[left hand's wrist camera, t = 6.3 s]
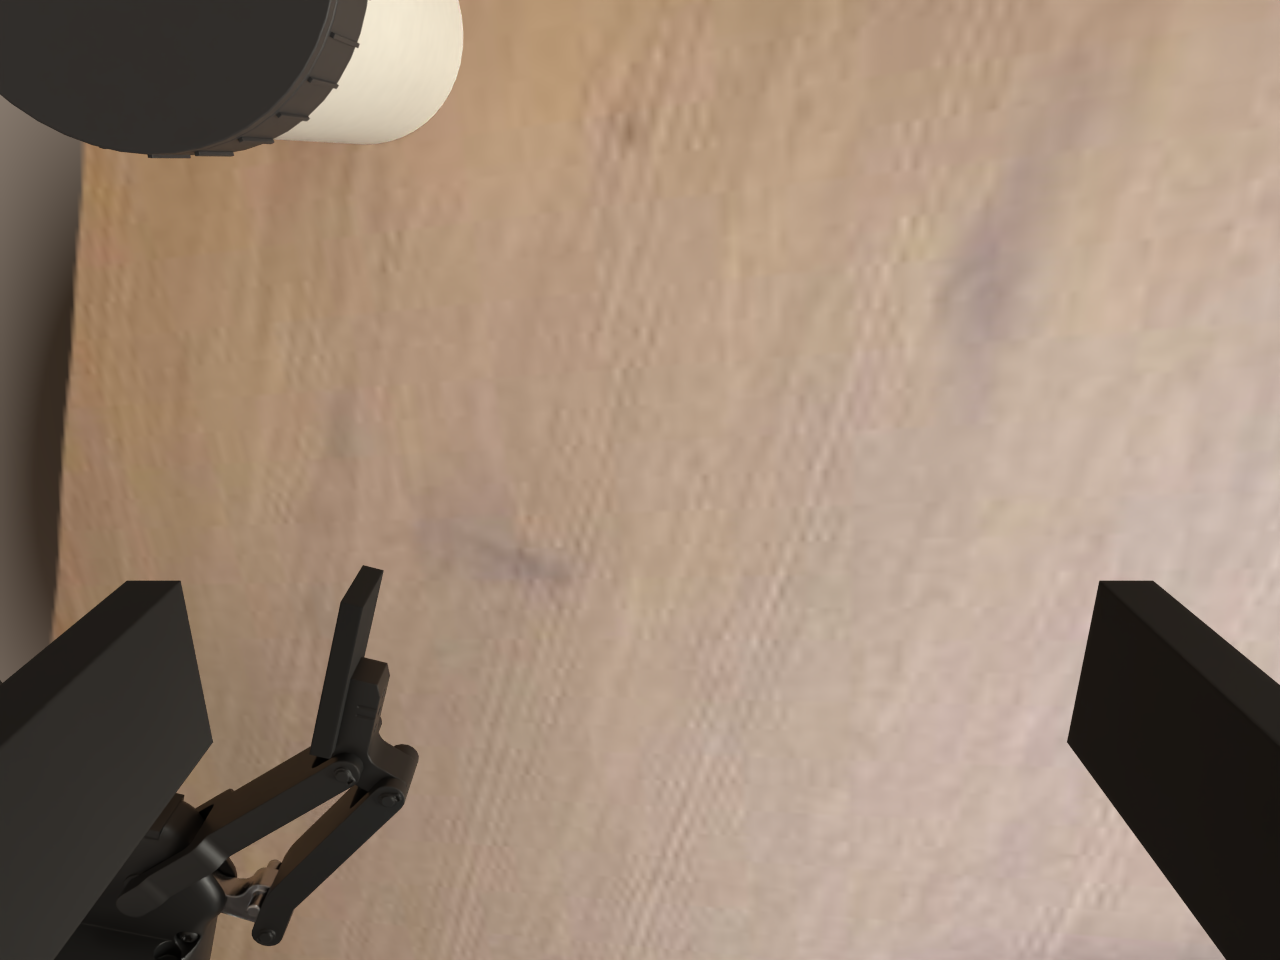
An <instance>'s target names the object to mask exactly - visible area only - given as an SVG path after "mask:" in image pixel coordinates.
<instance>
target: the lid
mask: <svg viewBox="0 0 1280 960" xmlns="http://www.w3.org/2000/svg"><path fill="white" fill-rule="evenodd" d="M367 2H368V0H0V95H2V96H3V97H4V98H5V99H7V100H8V101H9V102H10V103H11V104H13V105H14V106H16V107H17V108H19V109H20V110H22V111H24V112H25V113H26V114H28V115H30V116H31V117H33V118H34V119H36V120H37V121H39V122H41V123H43V124H45V125H47V126H49V127H51V128H53V129H54V130H56V131H58V132H60V133H62V134H64V135H67V136H69V137H72V138H75V139H77V140H80V141H83V142H86V143H88V144H91V145H94V146H98V147H100V148H103V149H111V150H115V151H120V152H129V153H139V154H148V158H191V157H190V155H195V156H234V154H233V152H236V151H241V150H246V149H249V148H252V147H255V146H258V145H261V144H272V143H274V140H273V139H274V138H276V137H278V136H280V135H282V134H284V133H286V132H288V131H289V130H291V129H292V128H293V127H295V126H296V125H297V124H299V123H300V122H302V121H308V120H309V119H310V118H309V117H308V116H309V115H310V114H311V113H312V112H313V111H314V110H315V109H316V108H317V107H318V106H319V105H320V104H321V103H322V102H323V101H324V100H325V99H326V97H327V96H328V95H329V93H330V92H331V91H332V89H333V88H334V89H337V88H338V86H339V85H338V84H337V83H338V81H339V80H340V78H341V76H342V74H343V72H344V71H345V69H346V67H347V65H348V63H349V61H350V60H351V57H352V55H353V52H354V50H355V47H356V48H359V45H360V44H359V43H357V42H358V39H359V36H360V34H361V30H362V26H363V21H364V17H365V13H366V9H367Z"/></svg>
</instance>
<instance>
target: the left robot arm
mask: <svg viewBox="0 0 1280 960" xmlns="http://www.w3.org/2000/svg"><path fill="white" fill-rule="evenodd" d="M212 743H213V740H212V735H211V730H210V725H209V720H208V715H207V710H206V705H205V700H204V695H203V690H202V685H201V680H200V675H199V670H198V665H197V660H196V655H195V650H194V645H193V640H192V635H191V630H190V625H189V620H188V615H187V610H186V605H185V600H184V595H183V591H182V586H181V581H126V582H125V583H124V584H122V585H121V586H120V587H119V588H118V589H116V590H115V591H114V592H113V593H111V594H110V595H109V596H108V597H107V598H105V599H104V600H103V601H102V602H101V603H99V604H98V605H97V606H96V607H94V608H93V609H92V610H91V611H90V612H88V613H87V614H86V615H85V616H84V617H82V618H81V619H80V620H79V621H78V622H76V623H75V624H74V625H73V626H71V627H70V628H69V629H68V630H67V631H65V632H64V633H63V634H62V635H61V636H59V637H58V638H57V639H56V640H54V641H53V642H52V643H51V644H50V645H48V646H47V647H46V648H45V649H44V650H42V651H41V652H40V653H39V654H37V655H36V656H35V657H34V658H33V659H31V660H30V661H29V662H28V663H27V664H25V665H24V666H23V667H22V668H20V669H19V670H18V671H17V672H16V673H14V674H13V675H12V676H11V677H10V678H8V679H7V680H6V681H5V682H3V683H2V684H1V685H0V960H54V959H55V957H56V956H57V955H58V953H59V952H60V951H61V949H62V948H63V946H64V945H65V944H66V942H67V941H68V940H69V938H70V937H71V935H72V934H73V933H74V931H75V930H76V929H77V927H78V926H79V925H80V923H81V922H82V920H83V919H84V918H85V916H86V915H87V914H88V912H89V911H90V910H91V908H92V907H93V905H94V904H95V903H96V901H97V900H98V899H99V897H100V896H101V894H102V893H103V892H104V890H105V889H106V888H107V886H108V885H109V884H110V882H111V881H112V879H113V878H114V877H115V875H116V874H117V873H118V871H119V870H120V868H121V867H122V866H123V864H124V863H125V862H126V860H127V859H128V858H129V856H130V855H131V853H132V852H133V851H134V849H135V848H136V847H137V845H138V844H139V843H140V841H141V840H142V838H143V837H144V836H145V834H146V833H147V832H148V830H149V829H150V827H151V826H152V825H153V823H154V822H155V821H156V819H157V818H158V817H159V815H160V814H161V812H162V811H163V810H164V808H165V807H166V806H167V804H168V803H169V801H170V800H171V799H172V797H173V796H174V795H175V793H176V792H177V791H178V789H179V788H180V786H181V785H182V784H183V782H184V781H185V780H186V778H187V777H188V776H189V774H190V773H191V771H192V770H193V769H194V767H195V766H196V765H197V763H198V762H199V760H200V759H201V758H202V756H203V755H204V754H205V752H206V751H207V750H208V748H209V747H210V745H211V744H212ZM1067 743H1068V744H1069V745H1070V747H1071V748H1072V750H1073V751H1074V752H1075V754H1076V755H1077V756H1078V758H1079V759H1080V760H1081V762H1082V763H1083V765H1084V766H1085V767H1086V769H1087V770H1088V771H1089V773H1090V774H1091V776H1092V777H1093V778H1094V780H1095V781H1096V782H1097V784H1098V785H1099V786H1100V788H1101V789H1102V791H1103V792H1104V793H1105V795H1106V796H1107V797H1108V799H1109V800H1110V801H1111V803H1112V804H1113V806H1114V807H1115V808H1116V810H1117V811H1118V812H1119V814H1120V815H1121V817H1122V818H1123V819H1124V821H1125V822H1126V823H1127V825H1128V826H1129V827H1130V829H1131V830H1132V832H1133V833H1134V834H1135V836H1136V837H1137V838H1138V840H1139V841H1140V843H1141V844H1142V845H1143V847H1144V848H1145V849H1146V851H1147V852H1148V853H1149V855H1150V856H1151V858H1152V859H1153V860H1154V862H1155V863H1156V864H1157V866H1158V867H1159V868H1160V870H1161V871H1162V873H1163V874H1164V875H1165V877H1166V878H1167V879H1168V881H1169V882H1170V884H1171V885H1172V886H1173V888H1174V889H1175V890H1176V892H1177V893H1178V894H1179V896H1180V897H1181V899H1182V900H1183V901H1184V903H1185V904H1186V905H1187V907H1188V908H1189V910H1190V911H1191V912H1192V914H1193V915H1194V916H1195V918H1196V919H1197V920H1198V922H1199V923H1200V925H1201V926H1202V927H1203V929H1204V930H1205V931H1206V933H1207V934H1208V935H1209V937H1210V938H1211V940H1212V941H1213V942H1214V944H1215V945H1216V946H1217V948H1218V949H1219V951H1220V952H1221V953H1222V955H1223V956H1224V957H1225V959H1226V960H1280V685H1279V684H1278V683H1277V682H1275V681H1274V680H1273V679H1272V678H1270V677H1269V676H1268V675H1267V674H1266V673H1264V672H1263V671H1262V670H1261V669H1260V668H1258V667H1257V666H1256V665H1255V664H1253V663H1252V662H1251V661H1250V660H1249V659H1247V658H1246V657H1245V656H1244V655H1243V654H1241V653H1240V652H1239V651H1238V650H1236V649H1235V648H1234V647H1233V646H1232V645H1230V644H1229V643H1228V642H1227V641H1226V640H1224V639H1223V638H1222V637H1221V636H1219V635H1218V634H1217V633H1216V632H1215V631H1213V630H1212V629H1211V628H1210V627H1209V626H1207V625H1206V624H1205V623H1204V622H1202V621H1201V620H1200V619H1199V618H1198V617H1196V616H1195V615H1194V614H1193V613H1192V612H1190V611H1189V610H1188V609H1187V608H1185V607H1184V606H1183V605H1182V604H1181V603H1179V602H1178V601H1177V600H1176V599H1175V598H1173V597H1172V596H1171V595H1170V594H1168V593H1167V592H1166V591H1165V590H1164V589H1162V588H1161V587H1160V586H1159V585H1158V584H1156V583H1155V582H1154V581H1099V585H1098V590H1097V595H1096V600H1095V605H1094V610H1093V615H1092V620H1091V625H1090V630H1089V635H1088V640H1087V645H1086V650H1085V655H1084V660H1083V665H1082V670H1081V675H1080V680H1079V685H1078V690H1077V695H1076V700H1075V705H1074V710H1073V715H1072V720H1071V725H1070V730H1069V735H1068V740H1067Z"/></svg>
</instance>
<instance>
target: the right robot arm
mask: <svg viewBox="0 0 1280 960" xmlns="http://www.w3.org/2000/svg"><path fill="white" fill-rule="evenodd" d="M383 571H384V570H380V569H376V568H372V567H368V566H364V565H363V566H362V568H361V569H360V571H359V573H358V574H357V576H356V578H355V579H354V581H353V583H352V584H351V586H350V588H349V589H348V591H347V593H346V594H345V596H344V598H343V599H342V601H341V603H340V608H339V613H338V618H337V623H336V627H335V632H334V637H333V642H332V647H331V652H330V656H329V661H328V666H327V671H326V676H325V681H324V685H323V690H322V695H321V700H320V705H319V710H318V715H317V719H316V724H315V729H314V734H313V739H312V744H311V747H309V748H307V749H305V750H304V751H302V752H300V753H299V754H297V755H295V756H293V757H292V758H290V759H288V760H287V761H285V762H283V763H282V764H280V765H278V766H276V767H275V768H273V769H271V770H270V771H268V772H266V773H265V774H263V775H261V776H259V777H258V778H256V779H254V780H253V781H251V782H249V783H247V784H246V785H244V786H242V787H241V788H239V789H237V790H236V791H233V790H232V789H228V790H226V791H224V792H223V793H221V794H219V795H218V796H216V797H214V798H212V799H211V800H209V801H207V802H206V803H204V804H202V805H201V806H199V807H197V808H194V807H192V806H191V805H190V804H188V803H186V802H184V801H183V800H184V795H182V794H177V793H175V795H174V796H173V797H172V799H171V800H170V801H169V803H168V804H167V806H166V807H165V808H164V810H163V811H162V812H161V814H160V815H159V817H158V818H157V819H156V821H155V822H154V823H153V825H152V826H151V827H150V829H149V830H148V832H147V833H146V834H145V836H144V837H143V838H142V840H141V841H140V843H139V844H138V845H137V847H136V848H135V849H134V851H133V852H132V853H131V855H130V856H129V858H128V859H127V860H126V862H125V863H124V864H123V866H122V867H121V868H120V870H119V871H118V873H117V874H116V875H115V877H114V878H113V879H112V881H111V882H110V884H109V885H108V886H107V888H106V889H105V890H104V892H103V893H102V894H101V896H100V897H99V899H98V900H97V901H96V903H95V904H94V905H93V907H92V908H91V910H90V911H89V912H88V914H87V915H86V916H85V918H84V919H83V920H82V922H81V923H80V925H79V926H78V927H77V929H76V930H75V931H74V933H73V934H72V935H71V937H70V938H69V940H68V941H67V942H66V944H65V945H64V946H63V948H62V949H61V951H60V952H59V953H58V955H57V956H56V957H55V959H54V960H210V956H211V950H212V945H213V939H214V933H215V928H216V922H217V916H218V915H219V914H220V913H225V914H228V915H232V916H235V917H238V918H242V919H245V920H249V921H252V922H255V924H254V927H253V930H252V937H253V939H254V940H255V941H256V942H257V943H259V944H261V945H265V946H273V945H276V944H278V943H279V942H280V941H281V940H282V938H283V935H284V933H285V931H286V928H287V926H288V923H289V921H290V919H291V916H292V914H293V912H294V909H295V908H296V907H297V906H298V905H299V904H300V903H301V902H302V901H303V900H304V899H305V898H306V897H307V896H309V895H310V894H311V893H312V892H313V891H314V890H315V889H316V888H317V887H318V886H319V885H320V884H321V883H322V882H323V881H324V880H325V879H327V878H328V877H329V876H330V875H331V874H332V873H333V872H334V871H335V870H336V869H337V868H338V867H339V866H340V865H341V864H342V863H344V862H345V861H346V860H347V859H348V858H349V857H350V856H351V855H352V854H353V853H354V852H355V851H356V850H357V849H358V848H359V847H360V846H362V845H363V844H364V843H365V842H366V841H367V840H368V839H369V838H370V837H371V836H372V835H373V834H374V833H375V832H376V831H377V830H378V829H380V828H381V827H382V826H383V825H384V824H385V823H386V822H387V821H388V820H389V819H390V818H391V817H392V816H393V815H394V814H395V813H396V812H398V811H399V810H400V809H401V808H402V806H403V805H404V802H405V799H406V796H407V793H408V790H409V787H410V784H411V781H412V778H413V775H414V772H415V769H416V766H417V763H418V757H419V756H418V753H417V751H416V750H415V749H414V748H413V747H411V746H409V745H404V744H400V745H396V746H394V747H393V746H392V745H390V744H388V743H387V742H385V741H384V740H383V739H382V738H381V737H380V735H379V730H380V727H381V725H382V720H381V717H380V715H381V711H382V706H383V702H384V697H385V694H386V690H387V685H388V681H389V677H390V674H389V669H388V665H387V663H385V662H380V661H376V660H372V659H368V658H364V656H365V651H366V647H367V642H368V638H369V633H370V629H371V624H372V620H373V616H374V611H375V607H376V602H377V598H378V593H379V589H380V584H381V580H382V575H383ZM1 684H2V682H1V681H0V685H1ZM350 787H351V788H350ZM349 788H350V789H349ZM347 789H349V790H348V791H347V792H346V793H345V794H344V795H343V796H342V797H341V798H340V799H339V800H338V801H337V802H336V803H335V804H334V805H333V806H332V807H331V808H330V809H329V810H328V811H327V812H326V813H324V814H323V815H322V816H321V817H320V818H319V819H318V820H317V821H316V822H315V823H314V824H313V825H312V826H311V827H310V828H309V829H308V830H307V831H306V832H305V833H304V834H303V835H302V836H301V837H300V838H299V839H298V840H297V841H296V842H295V843H294V844H293V845H292V846H291V848H290V849H289V850H288V852H287V854H286V855H285V857H284V859H283V861H282V863H281V862H280V861H278V860H271V861H270V862H269V863H268V865H267V867H265V868H261V869H259V870H258V871H257V872H256V873H255V874H254V875H253V876H252V877H250V878H247V879H239V878H237V872H236V868H235V866H234V864H233V862H232V861H231V859H230V858H229V857H230V856H231V855H233V854H235V853H236V852H238V851H240V850H242V849H243V848H245V847H247V846H249V845H250V844H252V843H254V842H256V841H257V840H259V839H261V838H263V837H264V836H266V835H268V834H270V833H271V832H273V831H275V830H277V829H278V828H280V827H282V826H284V825H285V824H287V823H289V822H291V821H292V820H294V819H296V818H298V817H300V816H301V815H303V814H305V813H307V812H308V811H310V810H312V809H314V808H315V807H317V806H319V805H321V804H322V803H324V802H326V801H328V800H329V799H331V798H333V797H335V796H336V795H338V794H340V793H342V792H343V791H345V790H347Z"/></svg>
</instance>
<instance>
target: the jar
mask: <svg viewBox="0 0 1280 960" xmlns="http://www.w3.org/2000/svg"><path fill="white" fill-rule="evenodd" d="M357 43H359V44H360V45H359V48H356V47H355V50H354V52H353V55H352V57H351V60H350V61H349V63H348V65H347V67H346V69H345V71H344V72H343V74H342V76H341V78H340V80H339V81H338V83H337V84H338V85H339V86H338V88H337V89H334V88H333V89H332V91H331V92H330V93H329V95H328V96H327V97H326V99H325V100H324V101H323V102H322V103H321V104H320V105H319V106H318V107H317V108H316V109H315V110H314V111H313V112H312V113H311V114H310V115H309V116H308V117H309V118H310V119H309V120H308V121H302V122H300V123H299V124H297V125H296V126H295V127H293V128H292V129H291V130H289V131H288V132H286V133H284V134H282V135H280V136H278V137H276V138H274V139H275V140H293V141H311V142H328V143H346V144H379V143H384V142H390V141H393V140H396V139H399V138H402V137H404V136H406V135H408V134H410V133H412V132H414V131H415V130H417V129H418V128H419V127H421V126H422V125H424V124H425V123H426V122H427V121H428V120H429V119H430V118H431V117H432V116H434V115H435V113H436V112H437V111H438V110H439V108H440V107H441V106H442V105H443V103H444V102H445V100H446V98H447V97H448V95H449V93H450V92H451V89H452V87H453V85H454V82H455V80H456V78H457V74H458V70H459V67H460V63H461V57H462V50H463V25H462V15H461V10H460V6H459V1H458V0H368V2H367V9H366V13H365V17H364V21H363V26H362V30H361V34H360V36H359V39H358V42H357Z"/></svg>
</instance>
